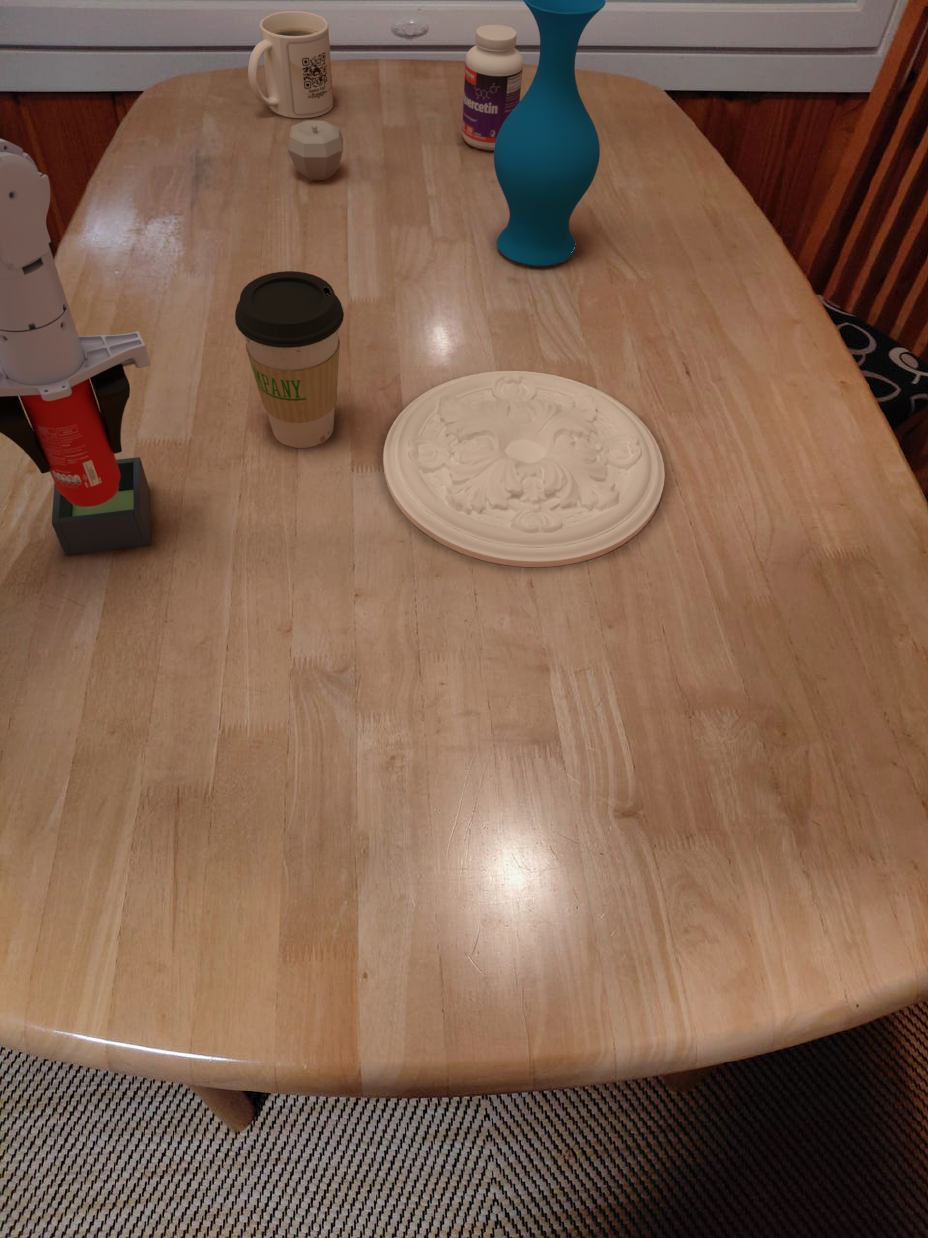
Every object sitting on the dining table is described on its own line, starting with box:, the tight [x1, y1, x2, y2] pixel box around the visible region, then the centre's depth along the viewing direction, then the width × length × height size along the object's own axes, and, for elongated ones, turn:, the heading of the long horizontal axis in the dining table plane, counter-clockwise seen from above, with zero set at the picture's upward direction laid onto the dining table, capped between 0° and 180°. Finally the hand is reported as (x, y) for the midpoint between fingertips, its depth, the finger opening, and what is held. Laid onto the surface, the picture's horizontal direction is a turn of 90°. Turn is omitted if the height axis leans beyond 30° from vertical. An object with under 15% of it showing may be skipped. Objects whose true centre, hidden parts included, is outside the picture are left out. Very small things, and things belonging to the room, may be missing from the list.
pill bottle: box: [461, 23, 524, 152], centre depth 132 cm, size 8×8×14 cm
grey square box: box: [51, 456, 152, 556], centre depth 84 cm, size 7×7×4 cm
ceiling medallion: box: [382, 370, 666, 568], centre depth 92 cm, size 28×28×3 cm
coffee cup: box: [234, 270, 345, 449], centre depth 89 cm, size 10×10×15 cm
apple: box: [287, 119, 344, 181], centre depth 126 cm, size 8×8×7 cm
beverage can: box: [18, 378, 120, 507], centre depth 74 cm, size 5×5×12 cm
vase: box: [493, 0, 607, 268], centre depth 108 cm, size 12×13×28 cm
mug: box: [247, 10, 334, 119], centre depth 137 cm, size 10×12×11 cm
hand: (79, 455), depth 76 cm, fingers closed on beverage can, 5 cm apart
